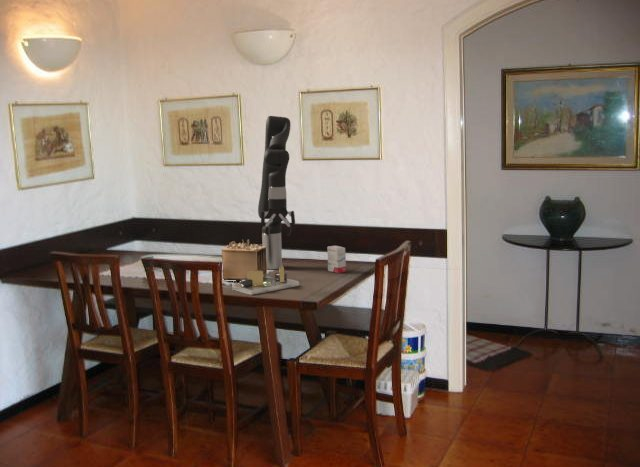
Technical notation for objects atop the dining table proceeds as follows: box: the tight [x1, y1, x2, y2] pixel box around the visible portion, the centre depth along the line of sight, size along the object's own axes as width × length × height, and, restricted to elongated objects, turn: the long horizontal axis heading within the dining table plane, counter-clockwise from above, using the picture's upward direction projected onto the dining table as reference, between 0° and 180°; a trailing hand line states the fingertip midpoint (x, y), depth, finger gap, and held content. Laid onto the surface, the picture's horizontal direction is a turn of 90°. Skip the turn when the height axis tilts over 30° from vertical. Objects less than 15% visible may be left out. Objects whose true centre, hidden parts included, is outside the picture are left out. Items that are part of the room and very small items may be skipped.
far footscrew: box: [274, 265, 288, 282], centre depth 316 cm, size 9×5×6 cm, turn 7°
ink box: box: [326, 245, 347, 274], centre depth 344 cm, size 9×5×12 cm, turn 33°
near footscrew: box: [240, 270, 263, 287], centre depth 307 cm, size 9×5×6 cm, turn 90°
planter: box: [221, 239, 273, 281], centre depth 328 cm, size 25×25×19 cm
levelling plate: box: [231, 276, 300, 296], centre depth 312 cm, size 14×25×5 cm, turn 130°
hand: (278, 235), depth 311 cm, fingers open, 8 cm apart
